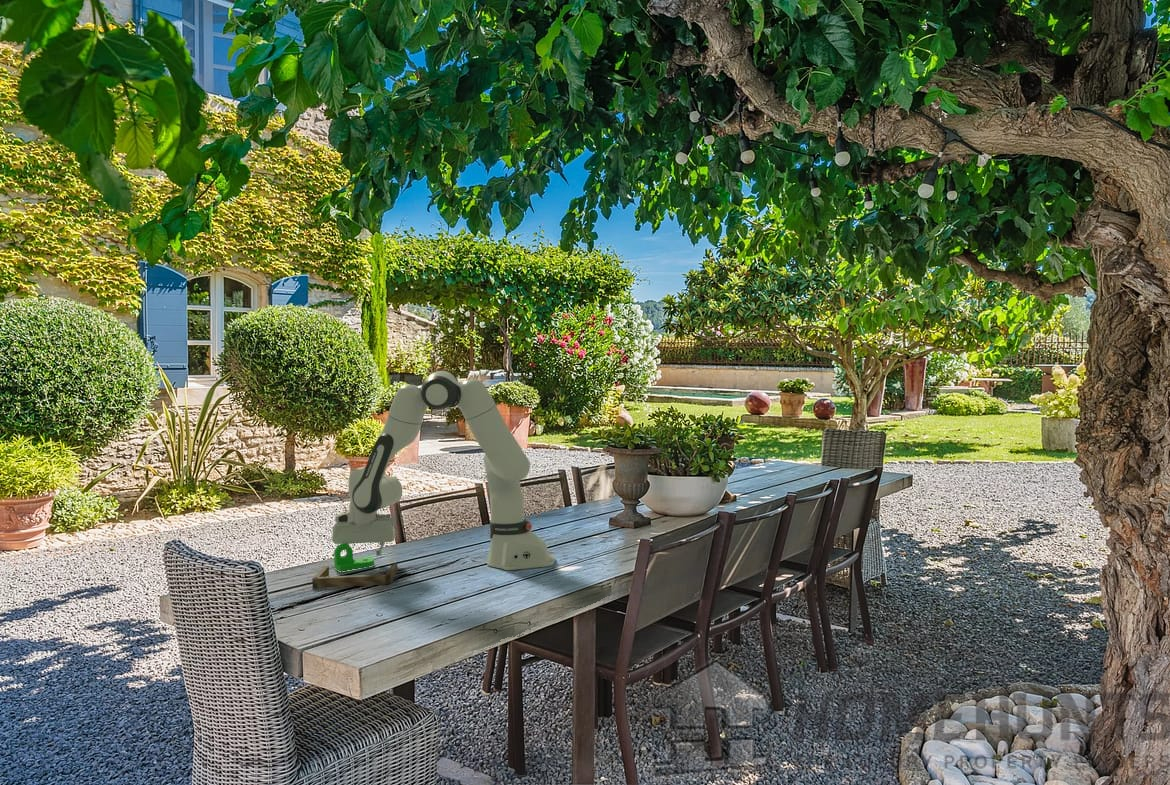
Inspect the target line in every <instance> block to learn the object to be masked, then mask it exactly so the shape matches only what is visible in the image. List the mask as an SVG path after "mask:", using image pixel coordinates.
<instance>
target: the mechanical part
mask: <svg viewBox="0 0 1170 785" xmlns="http://www.w3.org/2000/svg"><path fill="white" fill-rule="evenodd" d="M344 550H345V551H346V554H345V555H344V556H341V553H342V552H344ZM333 552H334V553H333V556H334V557H333V559H334V560H333V561H334V569H335V568H336V569H337V570H339V571H341V572H342V571H347V570H352V569H358V568H364V567H369V566H372V565H374V566H375V559H374V558H373V557H370V556H367V557H362V558H356V559H354V550H353V548H352V547H351V545H349V546H348V545H347V544H337V546H336V547H335V548H334V550H333ZM337 570H336V571H337Z"/></svg>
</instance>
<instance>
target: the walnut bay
mask: <svg viewBox="0 0 1170 785" xmlns="http://www.w3.org/2000/svg"><path fill="white" fill-rule="evenodd" d="M329 567H330V566H329V565H327V566H326V565H324V566H323V567H321V569H320V570H319V571H317V573H316V574H315V575H314V576H313V577H312V580H311V582H312V589H313V588H315V589H328V588H327V587H337V588H343V587H342V586H360V587H367V586H366V585H382V586H391V585H392V583H393V581H394V580H395V578H396V576H397V574H398V573H397V572H399V570H398V563H397V562H396V563H395V562H394V563H391V565H390V567H389V568H388V570H387V571H386V573H383V574H381V573H379V574H364V575H363V574H362V575H361V574H359V575H340V576H339V575H336V576H334V575H333V576H330V569H329ZM396 573H397V574H396ZM328 575H329V576H328ZM395 575H396V576H395ZM327 576H328V577H327ZM394 577H395V578H394ZM393 579H394V580H393ZM390 584H391V585H390Z"/></svg>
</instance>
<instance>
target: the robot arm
mask: <svg viewBox="0 0 1170 785" xmlns="http://www.w3.org/2000/svg"><path fill="white" fill-rule="evenodd" d="M455 407H457V408H458V409H459V410H460V412H461V413H462V416H463V418H464V419H465V421H466V424H467V426H468V428H469V429H470V432H471V434H472V435H473V438H474V439H475V441H476V442H477V444H478V445H479V447H480V449H481V450H482V451H483V453H484V456H483V464H484V466H485V474H486V481H487V485H488V486H487V487H488V491H489V500H490V521H489V524H488V526H489V538H490V545H489V554H488V556H487V558H488V559H487V561H486V564H487V566H490V567H491V568H492V567H493V568H498V569H501V570H503V571H504V570H505V571H512V570H513V571H515V570H527V569H535V568H544V567H551V566H553V565H554V564H555V562H556V560H555V556H554V555H553V554H551V553H549V549H548V546H547V543H546V542H545V540H544V539H543V538H541V537H540V536H538V535H537V534H535V533H534V532H533V531H531V530H532V528H533V525H532V523H531V522H530V521H529V520H527V519H525V497H524V494H523V491H522V488H521V483H520V481H522V480H523V479H526V477H527V476H528V474H529V472H530V468H531V464H530V463H531V462H530V460H529V458H528V457H527V455H526V453H525V452H524V450H523V448H521V445H520V444H519V443H518V441H517V440H516V438H515V436H514V435H513V433H512V432H511V430H510V429H509V428H508V426H507V424H506V422H505V420H504V418H503V416H502V414H501V412H500V409H499V408H498V407H497V405H496V402H495V400H494V399H493V397H492V395H491V394H490V392H489V390H488V389H487V387H486V386H485V385H484V384H483V382H482V381H481V380H479V379H477V378H471V379H466V380H465V381H464V380H463V381H459V380H458V378H457V376H456V375H455V373H453V372H452V371H450V370H448V369H444V368H442V369H437V370H434V371H432V372H431V373H430V374H429V375H428V376H427V377H426V378H424V380H423V381H422V382H421V383H420V385H415V384H404V385H401V386H400V387H399V388H398V389H397V391H396V393H395V395H394V397H393V399H392V401H391V405H390V407H389V411H388V415H387V417H386V421H385V423H384V425H383V428H382V430H381V432H380V434H379V436H378V437H377V439H376V441H375V442H374V444H373V447H372V449H371V452H370V454H369V457H368V460H367V462H366V466H362V467H361V466H360V467H357V468H354V469H352V470H351V471H350V473H349V477H348V496H349V500H350V501H349V505H348V509H347V510H345V511H342V512H340V513H338V514H336V516H335V518H334V521H335V523H334V525H333V528H332V534H331V535H332V536H331V540H332V541H331V542H332V543H334V544H335V545H340V544H347V545H348V546H350V544H367V543H368V544H371V543H373V544H375V543H379V548H378V549H376V550H375V552H376V553H375V554H376V556H377V557H378V556H382V549H384V546H385V545H386V544H385V543H392V542H393V541H394V540H395V539H396V530H395V525H396V517H395V516H394V515H392V514H391V513H385V514H383V513H378V511H379V510H381V509H384V508H387V507H389V506H393V505H395V504H397V503H399V501H400V500H401V498H402V496H403V487H402V484H401V482H400V481H399V479H398V478H396V477H393V476H389V475H386V471H387V468H388V467H389V466H388V465H389V463H390V461H391V460H392V458H393V457H395V455H396V454H397V453H398V452H400V451H402V450H403V449H404V448H406V447H408V446H410V445H411V444H413V443H414V442H415V440H416V439H417V437H418V435H419V434H420V430H421V428H422V423H423V420H424V417H425V415H426V414H425V413H426V411H427V410H428V408H431V409H434V410H441V409H442V410H443V409H448V408H455Z"/></svg>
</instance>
